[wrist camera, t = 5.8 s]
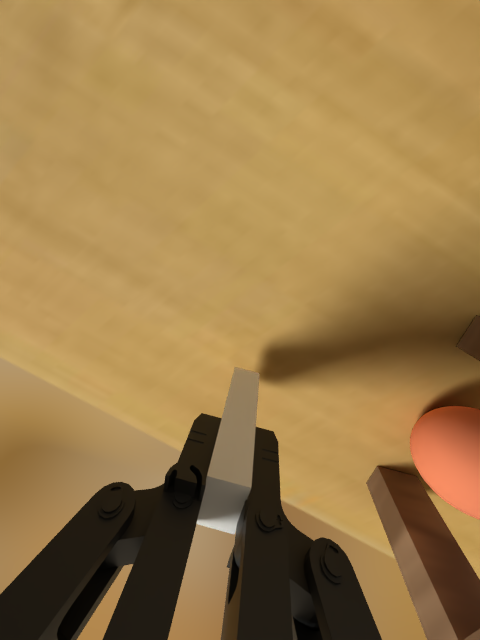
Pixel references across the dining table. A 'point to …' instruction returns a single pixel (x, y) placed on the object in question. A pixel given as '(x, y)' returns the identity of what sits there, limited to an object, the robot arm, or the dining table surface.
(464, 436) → the ball
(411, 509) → the bridge
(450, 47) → the dining table surface
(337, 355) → the dining table surface
